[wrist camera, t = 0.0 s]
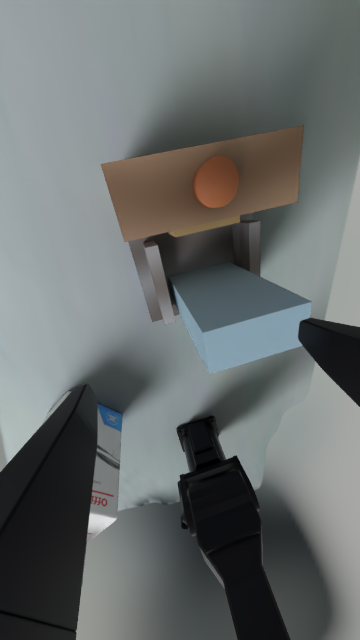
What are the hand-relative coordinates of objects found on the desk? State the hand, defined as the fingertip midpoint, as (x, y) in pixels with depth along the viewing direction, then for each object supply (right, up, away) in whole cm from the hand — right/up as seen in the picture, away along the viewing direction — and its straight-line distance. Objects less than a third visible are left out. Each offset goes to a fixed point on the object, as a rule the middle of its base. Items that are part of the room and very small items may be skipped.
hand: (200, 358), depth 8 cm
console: (0, +9, +12) cm, 15 cm away
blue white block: (+1, +5, +13) cm, 14 cm away
